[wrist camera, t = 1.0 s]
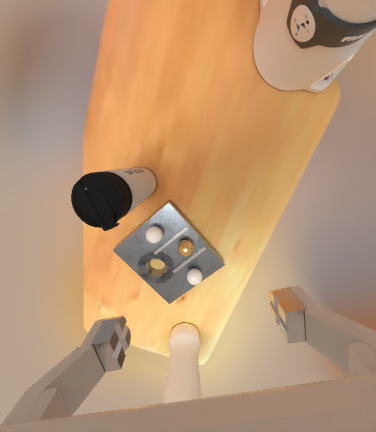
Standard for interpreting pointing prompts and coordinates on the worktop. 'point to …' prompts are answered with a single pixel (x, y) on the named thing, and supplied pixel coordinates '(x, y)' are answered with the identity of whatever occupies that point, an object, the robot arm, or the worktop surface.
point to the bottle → (183, 365)
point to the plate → (168, 253)
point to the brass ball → (185, 248)
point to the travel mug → (111, 195)
